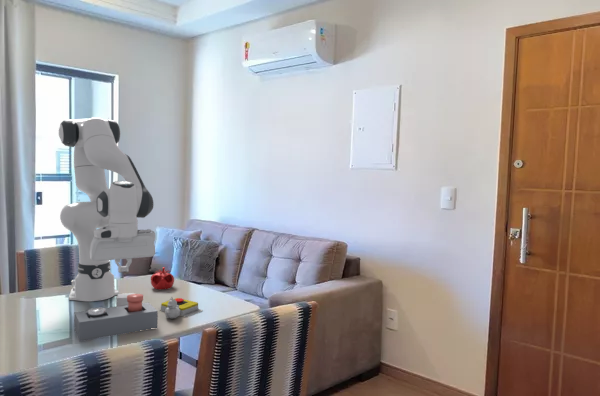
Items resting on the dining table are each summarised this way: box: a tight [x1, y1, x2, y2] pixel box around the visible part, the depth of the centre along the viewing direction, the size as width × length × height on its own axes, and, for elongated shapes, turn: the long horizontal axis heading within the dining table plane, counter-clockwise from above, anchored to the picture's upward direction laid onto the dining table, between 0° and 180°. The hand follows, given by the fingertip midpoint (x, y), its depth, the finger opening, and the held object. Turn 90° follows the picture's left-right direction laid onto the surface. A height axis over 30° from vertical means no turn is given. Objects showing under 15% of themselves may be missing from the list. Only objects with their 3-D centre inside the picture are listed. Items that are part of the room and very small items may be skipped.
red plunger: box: [127, 293, 144, 312], centre depth 159 cm, size 5×5×5 cm
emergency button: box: [157, 297, 203, 318], centre depth 178 cm, size 9×4×15 cm
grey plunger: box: [88, 307, 106, 318], centre depth 153 cm, size 5×5×5 cm
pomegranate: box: [150, 267, 175, 291], centre depth 208 cm, size 10×10×9 cm
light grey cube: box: [116, 292, 136, 307], centre depth 176 cm, size 6×6×6 cm
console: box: [73, 302, 159, 342], centre depth 157 cm, size 11×24×6 cm, turn 123°
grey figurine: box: [164, 297, 180, 319], centre depth 170 cm, size 5×7×8 cm
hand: (123, 271), depth 157 cm, fingers closed
